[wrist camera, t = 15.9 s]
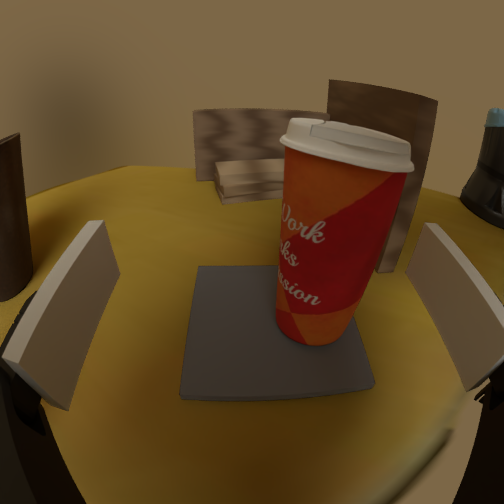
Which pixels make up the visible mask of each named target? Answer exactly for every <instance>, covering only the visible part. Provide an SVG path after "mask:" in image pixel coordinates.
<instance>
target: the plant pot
mask: <svg viewBox="0 0 504 504" xmlns="http://www.w3.org/2000/svg"><path fill="white" fill-rule="evenodd" d="M32 273H33V265H32V255H31V244H30V235H29V225H28V215H27V206H26V196H25V186H24V177H23V167H22V157H21V143H20V133H16V134H13V135H10V136H8V137H6V138H3V139H1V140H0V302H2V301H6V300H8V299H10V298H12V297H14V296H15V295H16V294H18V293H19V292H20V291H21V290H22V289H23V288H24V287H25V286H26V285H27V283H28V282H29V280H30V278H31V276H32Z"/></svg>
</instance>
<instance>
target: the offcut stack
mask: <svg viewBox="0 0 504 504" xmlns="http://www.w3.org/2000/svg"><path fill="white" fill-rule="evenodd" d="M215 167H216V173H214V182H215V185H216V190H217V193H218V195H219V198H220V200H221V202H222V204H231V203H239V202H248V201H258V200H268V199H278V198H283V181H284V159H259V160H240V161H226V162H215Z"/></svg>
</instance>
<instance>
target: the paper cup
mask: <svg viewBox="0 0 504 504" xmlns="http://www.w3.org/2000/svg"><path fill="white" fill-rule="evenodd" d="M280 142H281V143H282V144H283V145H285V159H284V181H283V201H282V218H281V235H280V251H279V266H278V281H277V296H276V321H277V324H278V326H279V328H280V329H281V331H282V332H283V333H284V334H285V335H286V336H287V337H289V338H290V339H292V340H294V341H296V342H298V343H301V344H304V345H309V346H323V345H327V344H330V343H332V342H334V341H336V340H337V339H338V338H339V337H340V336H341V335H342V334H343V332H344V331H345V329H346V327H347V326H348V324H349V322H350V320H351V318H352V316H353V314H354V312H355V310H356V308H357V306H358V304H359V302H360V299H361V297H362V295H363V293H364V291H365V289H366V286H367V284H368V282H369V280H370V277H371V275H372V273H373V270H374V268H375V265H376V263H377V260H378V258H379V255H380V253H381V250H382V248H383V245H384V243H385V240H386V237H387V235H388V232H389V229H390V226H391V223H392V221H393V218H394V215H395V212H396V209H397V206H398V203H399V200H400V197H401V193H402V190H403V187H404V184H405V180H406V177H407V173H408V172H412V171H414V164H413V163H412V162H411V161H410V159H411V145H410V143H409V142H407V141H405V140H403V139H400V138H398V137H395V136H392V135H389V134H385V133H382V132H379V131H375V130H371V129H367V128H363V127H359V126H352V125H348V124H346V123H341V122H335V121H325V122H324V121H323V120H319V119H310V118H291V120H290V121H289V125H288V129H287V133H286V134H285V135H283V136H282V137H281V138H280Z"/></svg>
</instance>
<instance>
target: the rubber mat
mask: <svg viewBox="0 0 504 504" xmlns="http://www.w3.org/2000/svg"><path fill="white" fill-rule="evenodd" d="M278 266H279V265H278ZM278 266H199V267H198V272H197V278H196V283H195V289H194V295H193V301H192V307H191V313H190V320H189V326H188V333H187V340H186V347H185V354H184V361H183V369H182V376H181V385H180V393H179V395H180V397H181V399H188V400H208V401H264V400H283V399H297V398H308V397H317V396H326V395H334V394H341V393H347V392H354V391H360V390H365V389H371V388H372V387H373V386H374V384H375V381H374V377H373V374H372V371H371V368H370V364H369V361H368V358H367V355H366V352H365V349H364V346H363V343H362V340H361V337H360V334H359V331H358V328H357V325H356V323H355V320H354V317H353V316H352V318H351V320H350V322H349V324H348V326H347V327H346V329H345V331H344V332H343V334H342V335H341V336H340V337H339V338H338V339H337V340H336V341H334V342H332V343H330V344H327V345H323V346H309V345H304V344H301V343H298V342H296V341H294V340H292V339H290V338H289V337H287V336H286V335H285V334H284V333H283V332H282V331H281V329H280V328H279V326H278V324H277V321H276V296H277V281H278Z"/></svg>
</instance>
